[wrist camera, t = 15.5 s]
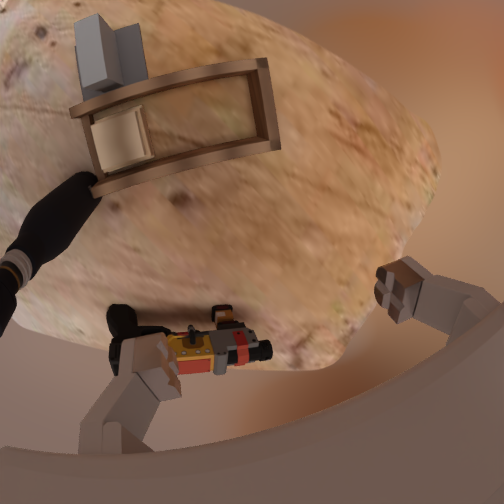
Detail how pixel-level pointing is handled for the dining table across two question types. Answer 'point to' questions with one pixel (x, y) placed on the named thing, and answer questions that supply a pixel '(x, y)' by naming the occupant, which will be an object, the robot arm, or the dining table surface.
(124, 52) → the flat gray square tile
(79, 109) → the wooden box
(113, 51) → the gray rectangular block
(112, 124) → the offcut top
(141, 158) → the block
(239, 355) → the toy gun
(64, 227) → the wine bottle
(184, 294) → the dining table surface
